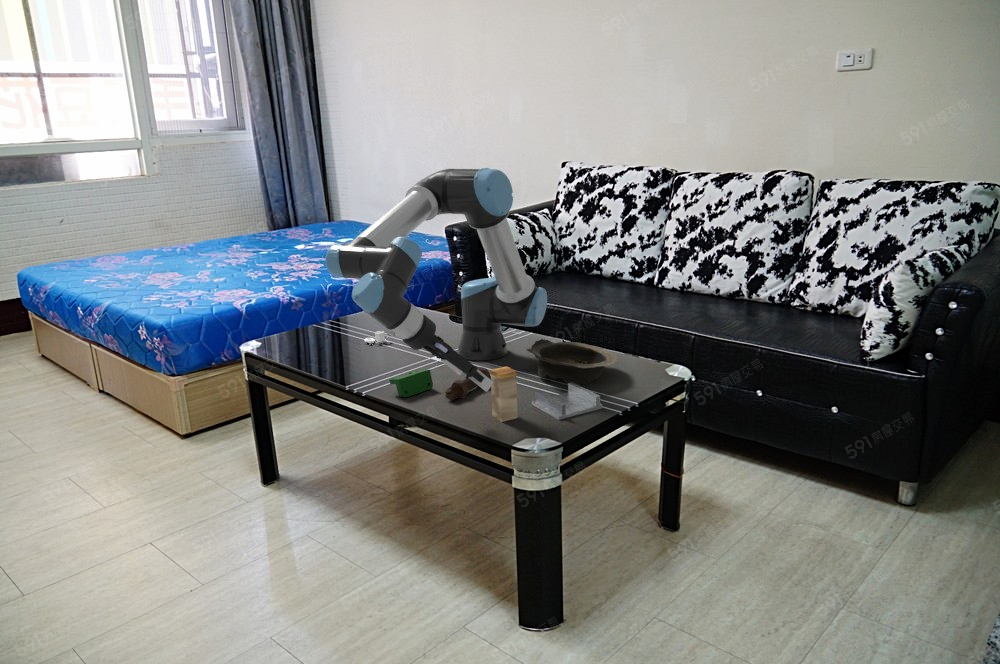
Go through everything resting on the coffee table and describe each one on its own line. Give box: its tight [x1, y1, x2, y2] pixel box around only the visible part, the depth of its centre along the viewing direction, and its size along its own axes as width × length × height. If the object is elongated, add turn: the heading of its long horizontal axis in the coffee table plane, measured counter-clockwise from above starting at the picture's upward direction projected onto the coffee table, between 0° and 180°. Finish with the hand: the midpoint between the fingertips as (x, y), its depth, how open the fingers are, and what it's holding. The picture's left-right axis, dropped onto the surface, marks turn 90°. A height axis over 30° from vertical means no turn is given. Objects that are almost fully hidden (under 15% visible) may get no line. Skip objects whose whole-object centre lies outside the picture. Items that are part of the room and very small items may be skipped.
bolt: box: [444, 366, 491, 401], centre depth 199 cm, size 6×5×15 cm
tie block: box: [490, 366, 519, 423], centre depth 182 cm, size 4×4×12 cm
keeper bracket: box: [531, 382, 603, 421], centre depth 188 cm, size 12×13×4 cm
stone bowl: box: [526, 338, 618, 386], centre depth 209 cm, size 25×25×9 cm
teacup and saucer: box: [363, 330, 389, 343], centre depth 247 cm, size 9×8×4 cm
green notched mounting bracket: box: [388, 369, 434, 398], centre depth 202 cm, size 11×6×8 cm, turn 128°
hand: (475, 378), depth 176 cm, fingers open, 13 cm apart
